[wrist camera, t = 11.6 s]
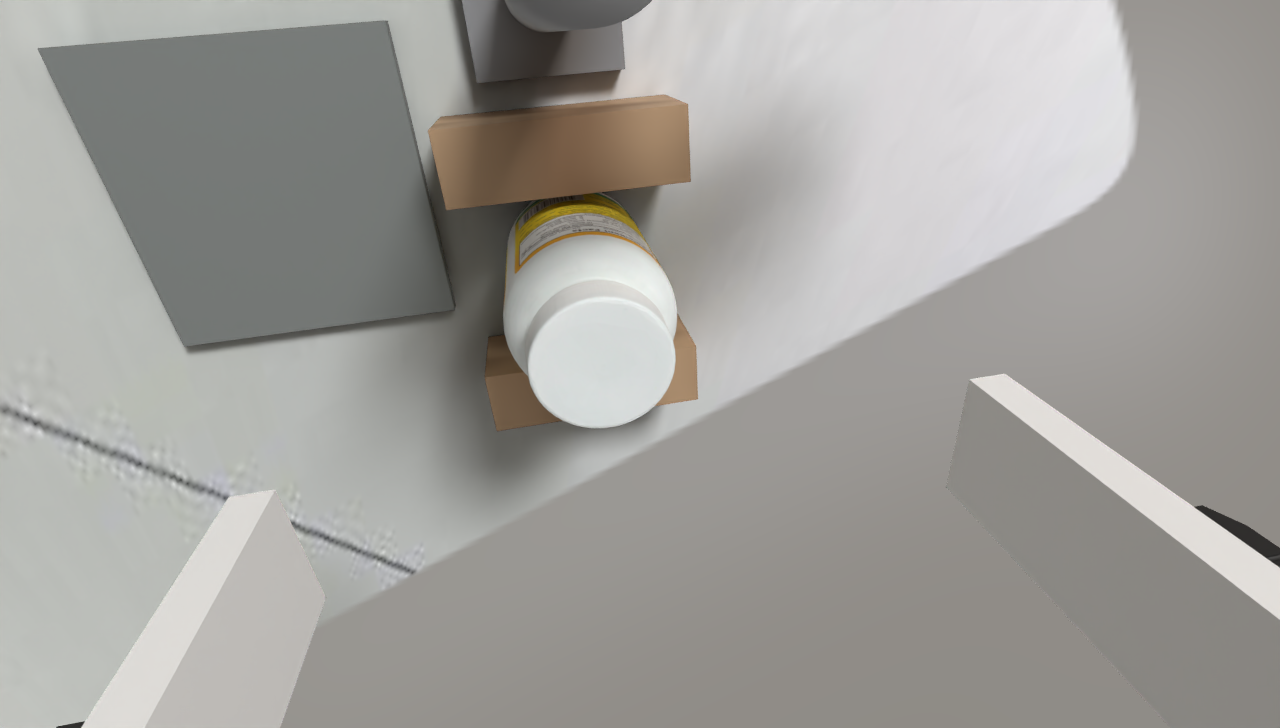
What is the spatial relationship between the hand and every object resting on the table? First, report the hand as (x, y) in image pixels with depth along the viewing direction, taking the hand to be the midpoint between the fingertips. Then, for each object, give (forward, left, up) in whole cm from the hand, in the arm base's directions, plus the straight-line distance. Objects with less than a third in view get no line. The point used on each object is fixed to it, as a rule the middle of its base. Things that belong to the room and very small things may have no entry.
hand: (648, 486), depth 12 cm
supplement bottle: (0, 0, -15) cm, 15 cm away
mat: (-10, +4, -15) cm, 18 cm away
